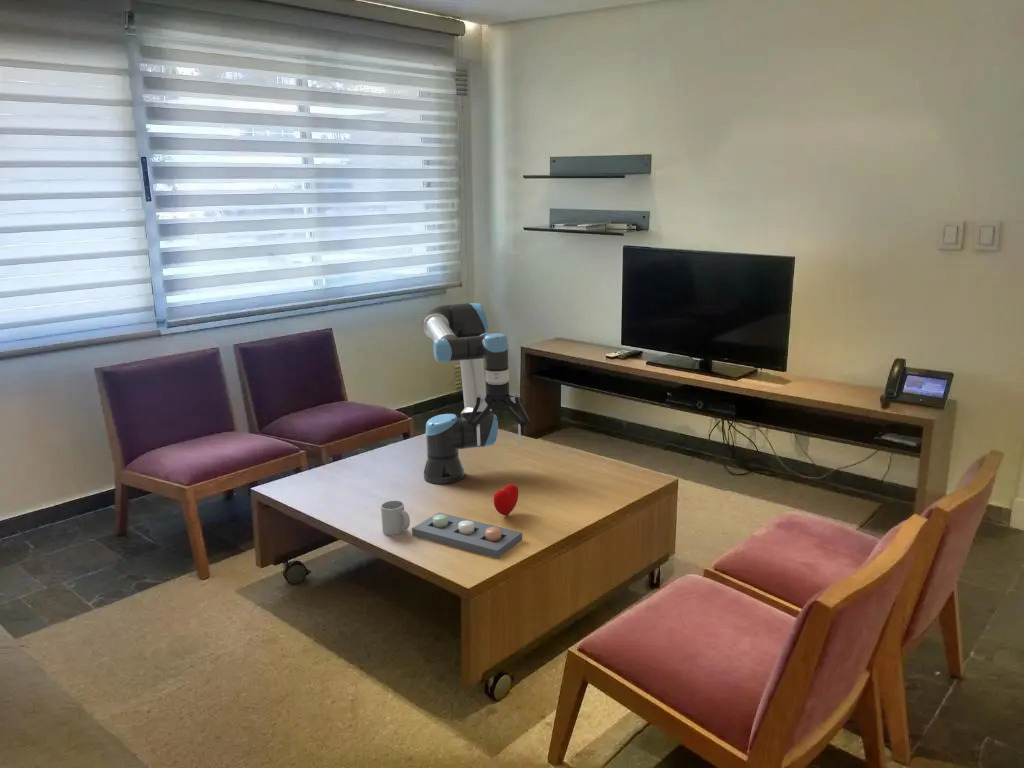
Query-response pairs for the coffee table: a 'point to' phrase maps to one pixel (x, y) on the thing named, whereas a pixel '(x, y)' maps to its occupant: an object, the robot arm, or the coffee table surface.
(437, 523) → the sage button
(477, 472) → the coffee table surface
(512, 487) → the heart
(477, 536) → the panel
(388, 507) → the cup
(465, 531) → the cream button
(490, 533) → the peach button
